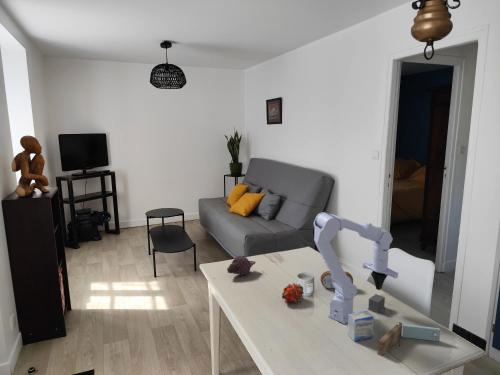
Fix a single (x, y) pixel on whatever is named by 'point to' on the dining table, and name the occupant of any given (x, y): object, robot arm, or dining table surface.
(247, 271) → the purple toy animal
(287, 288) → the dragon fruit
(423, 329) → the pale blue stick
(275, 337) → the dining table surface
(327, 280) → the tin
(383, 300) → the dark grey block
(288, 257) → the dining table surface
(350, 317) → the medicine box
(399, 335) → the brown wooden plank
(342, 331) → the dining table surface
